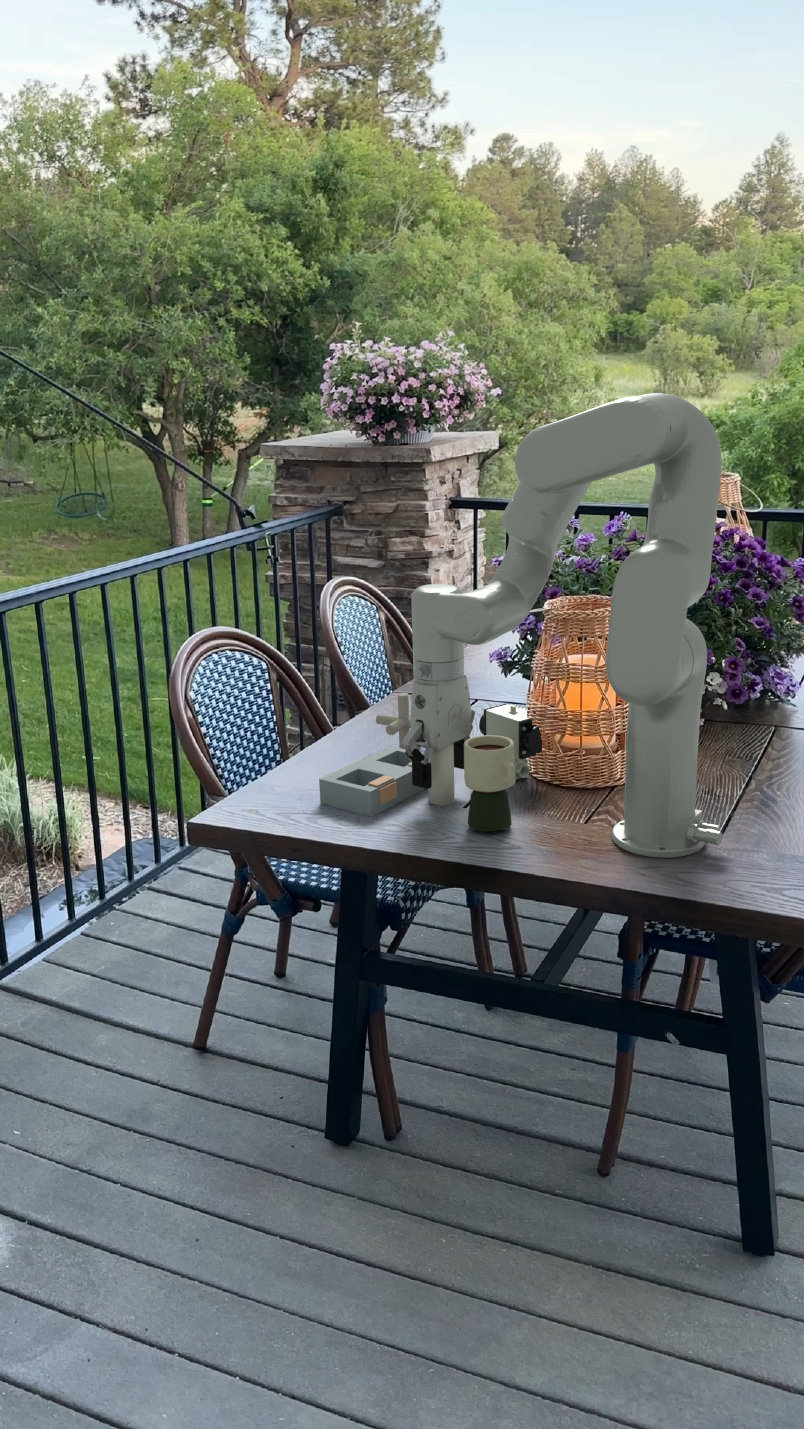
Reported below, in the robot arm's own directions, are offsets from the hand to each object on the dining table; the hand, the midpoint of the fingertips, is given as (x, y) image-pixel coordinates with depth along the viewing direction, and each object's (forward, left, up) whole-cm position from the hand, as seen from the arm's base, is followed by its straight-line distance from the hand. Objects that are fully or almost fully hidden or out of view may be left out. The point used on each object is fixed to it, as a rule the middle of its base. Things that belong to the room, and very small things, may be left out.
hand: (440, 777), depth 178 cm
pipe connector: (+19, -16, -4) cm, 25 cm away
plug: (0, 0, -4) cm, 4 cm away
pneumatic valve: (-4, -15, -4) cm, 16 cm away
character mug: (-12, +5, -4) cm, 14 cm away
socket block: (+10, +2, -4) cm, 11 cm away
